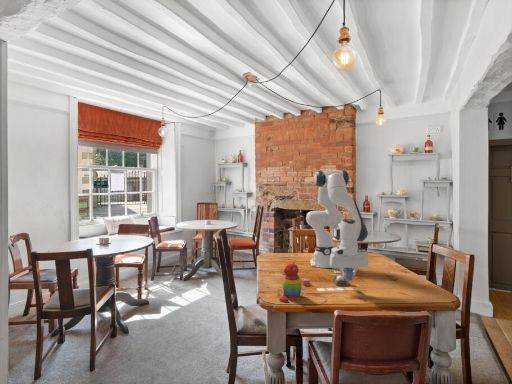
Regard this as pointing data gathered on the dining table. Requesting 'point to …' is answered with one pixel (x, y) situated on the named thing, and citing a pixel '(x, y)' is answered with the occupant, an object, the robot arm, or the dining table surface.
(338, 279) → the dome
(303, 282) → the die
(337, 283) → the popper box
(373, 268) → the dining table surface
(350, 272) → the pawn
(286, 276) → the stacking bear
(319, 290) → the track
